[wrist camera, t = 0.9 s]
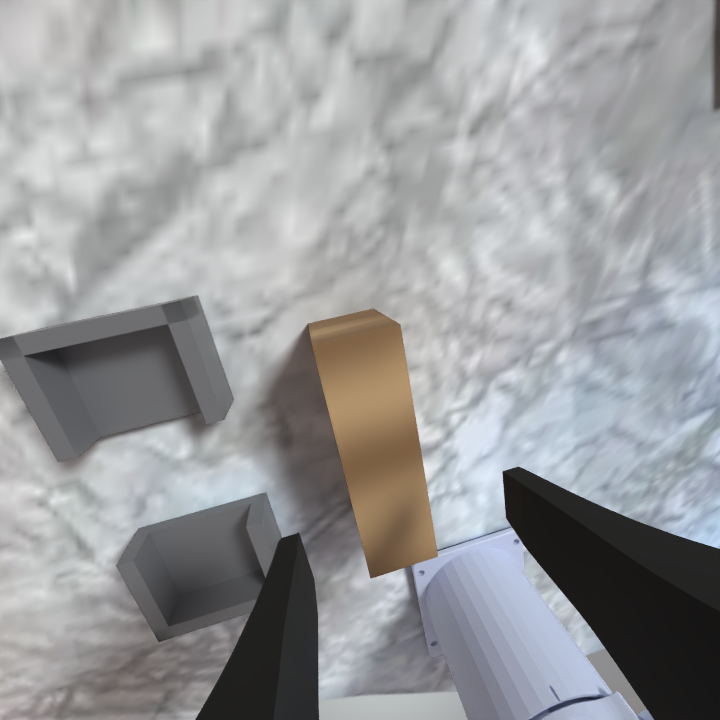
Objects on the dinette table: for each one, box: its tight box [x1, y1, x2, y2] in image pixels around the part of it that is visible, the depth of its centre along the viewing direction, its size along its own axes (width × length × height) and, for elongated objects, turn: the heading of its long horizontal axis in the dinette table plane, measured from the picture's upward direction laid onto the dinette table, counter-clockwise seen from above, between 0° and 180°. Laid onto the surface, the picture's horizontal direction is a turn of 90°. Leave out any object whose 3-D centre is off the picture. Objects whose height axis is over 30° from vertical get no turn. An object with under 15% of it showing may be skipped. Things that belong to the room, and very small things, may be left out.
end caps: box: [0, 295, 282, 642], centre depth 17 cm, size 17×7×2 cm, turn 12°
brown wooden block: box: [308, 309, 438, 578], centre depth 17 cm, size 12×4×5 cm, turn 12°
